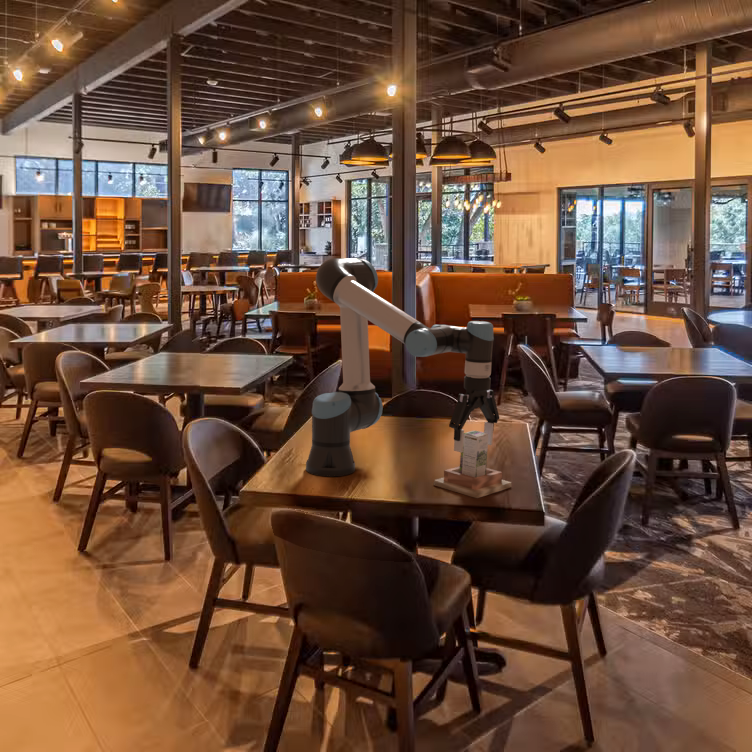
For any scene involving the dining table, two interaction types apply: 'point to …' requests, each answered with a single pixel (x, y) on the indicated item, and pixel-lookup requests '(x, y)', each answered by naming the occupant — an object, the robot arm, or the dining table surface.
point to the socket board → (472, 482)
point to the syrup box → (474, 454)
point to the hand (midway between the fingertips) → (473, 447)
